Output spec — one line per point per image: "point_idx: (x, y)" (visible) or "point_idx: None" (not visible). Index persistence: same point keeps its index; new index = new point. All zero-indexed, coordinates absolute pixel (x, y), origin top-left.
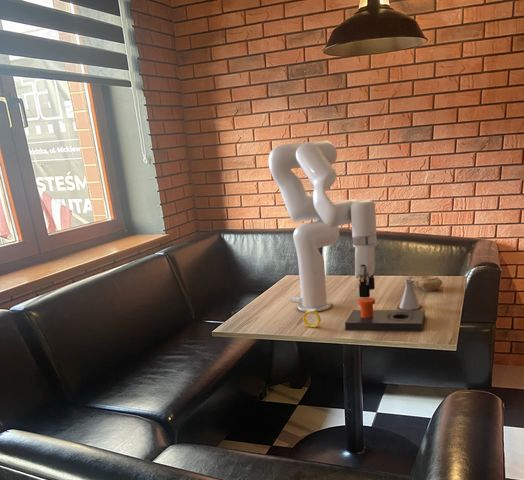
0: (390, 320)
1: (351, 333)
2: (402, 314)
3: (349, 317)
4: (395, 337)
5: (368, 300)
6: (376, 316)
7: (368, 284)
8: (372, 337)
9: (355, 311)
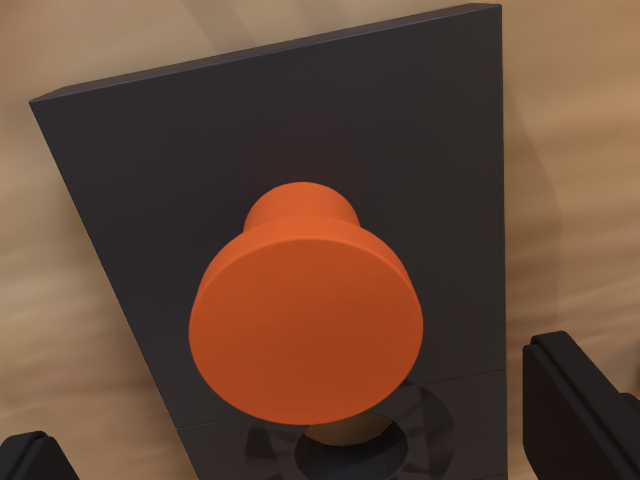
0: (242, 425)
1: (11, 176)
2: (407, 443)
3: (214, 77)
4: (88, 452)
5: (280, 373)
6: None
7: (567, 463)
8: (15, 345)
9: (444, 57)
